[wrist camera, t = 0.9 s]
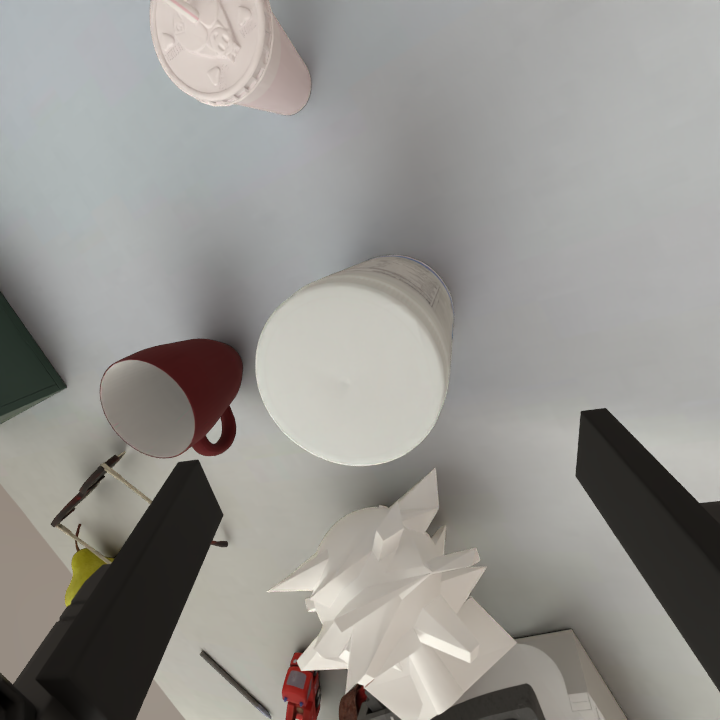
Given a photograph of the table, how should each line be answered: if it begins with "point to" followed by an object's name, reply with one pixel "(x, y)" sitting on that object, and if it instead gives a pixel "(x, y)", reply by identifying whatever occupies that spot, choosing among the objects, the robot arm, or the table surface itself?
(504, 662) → the skate ramp
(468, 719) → the handgun
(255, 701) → the pen
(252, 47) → the smoothie
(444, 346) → the supplement tub
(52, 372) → the bin
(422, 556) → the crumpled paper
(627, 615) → the table surface
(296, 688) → the toy fire truck
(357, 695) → the figurine
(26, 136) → the table surface
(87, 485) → the sunglasses
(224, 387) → the mug
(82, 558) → the fruit
